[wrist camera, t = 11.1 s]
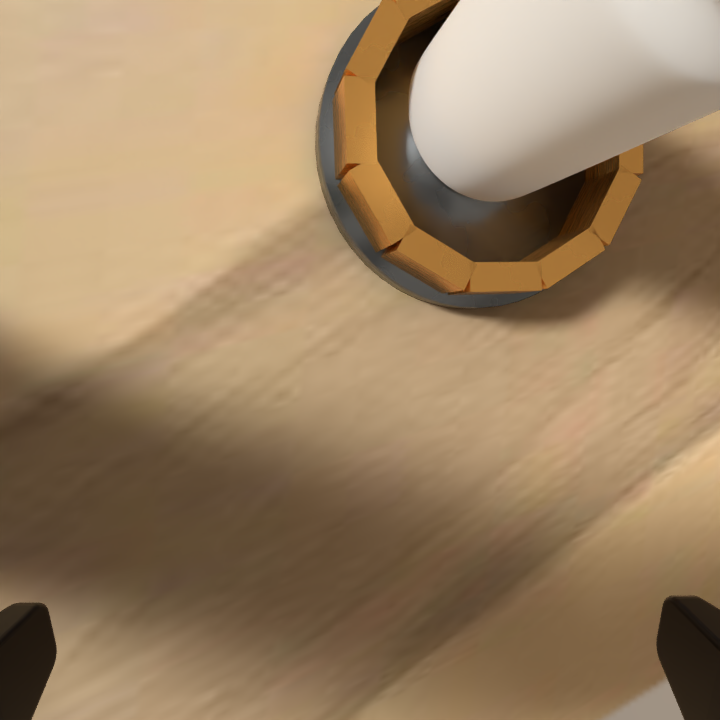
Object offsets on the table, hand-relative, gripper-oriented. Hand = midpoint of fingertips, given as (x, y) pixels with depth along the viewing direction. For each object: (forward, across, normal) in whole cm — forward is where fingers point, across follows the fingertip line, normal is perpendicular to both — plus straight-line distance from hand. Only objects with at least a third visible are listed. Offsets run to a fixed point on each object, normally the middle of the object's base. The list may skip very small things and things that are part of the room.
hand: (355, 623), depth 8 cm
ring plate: (+17, -4, -7) cm, 19 cm away
